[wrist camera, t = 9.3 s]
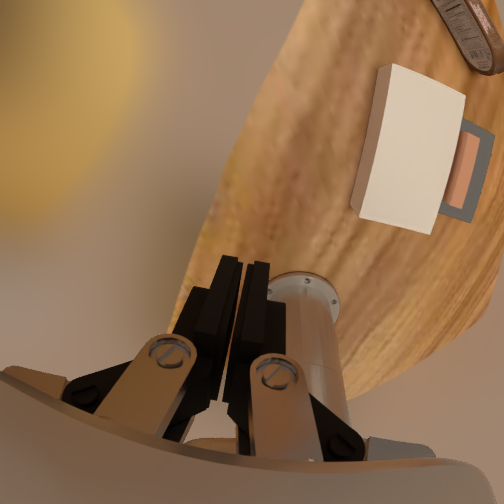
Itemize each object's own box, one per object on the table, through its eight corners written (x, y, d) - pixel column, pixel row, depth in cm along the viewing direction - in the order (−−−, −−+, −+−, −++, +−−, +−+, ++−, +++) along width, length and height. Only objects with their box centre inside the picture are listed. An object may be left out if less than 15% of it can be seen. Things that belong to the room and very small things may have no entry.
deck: (414, 220, 36) (429, 234, 31) (349, 203, 36) (358, 217, 32) (445, 95, 28) (465, 95, 23) (378, 68, 28) (392, 63, 23)
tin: (482, 73, 25) (519, 72, 17) (469, 78, 26) (506, 77, 18) (430, -19, 20) (458, -38, 12) (415, -16, 21) (441, -37, 13)
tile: (428, 190, 33) (439, 194, 33) (449, 205, 28) (461, 209, 28) (443, 127, 29) (455, 132, 29) (468, 132, 24) (480, 138, 24)
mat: (469, 222, 35) (470, 223, 35) (419, 206, 35) (420, 207, 35) (493, 135, 28) (495, 135, 28) (443, 109, 29) (444, 109, 28)
